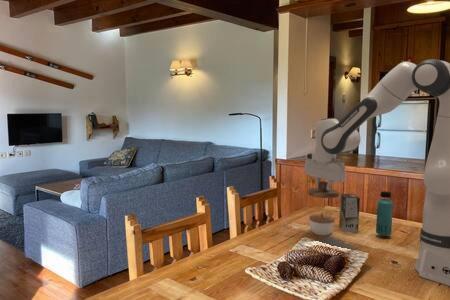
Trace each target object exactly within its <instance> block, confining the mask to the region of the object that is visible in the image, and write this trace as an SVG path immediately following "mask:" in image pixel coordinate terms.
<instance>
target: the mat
mask: <svg viewBox="0 0 450 300" xmlns="http://www.w3.org/2000/svg"><path fill="white" fill-rule="evenodd" d="M314 240H315V241H319V242H322V243H326V244H329V245H331V246H337V247H341V248H347V249H351V250H352V251H356V250H358V249H359V248H357V247H355V246H353V245H350V244H349V243H345V242H342V241H341V240H337V239H335V238H334V237H330V236H326V237H325V236H324V237H321V238H317V239H314ZM306 248H308V246H307V247H306Z"/></svg>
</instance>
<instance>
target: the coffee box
mask: <svg viewBox="0 0 450 300" xmlns="http://www.w3.org/2000/svg"><path fill="white" fill-rule="evenodd" d="M360 199H361V198H360V197H359V196H357V195H356V194H354V193H339V220H338V222H339V223H338V227H339V228H340V229H341V230H342V231H343V232H344V233H352V234H359V222H360V221H359V220H360V203H361V202H360Z"/></svg>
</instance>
